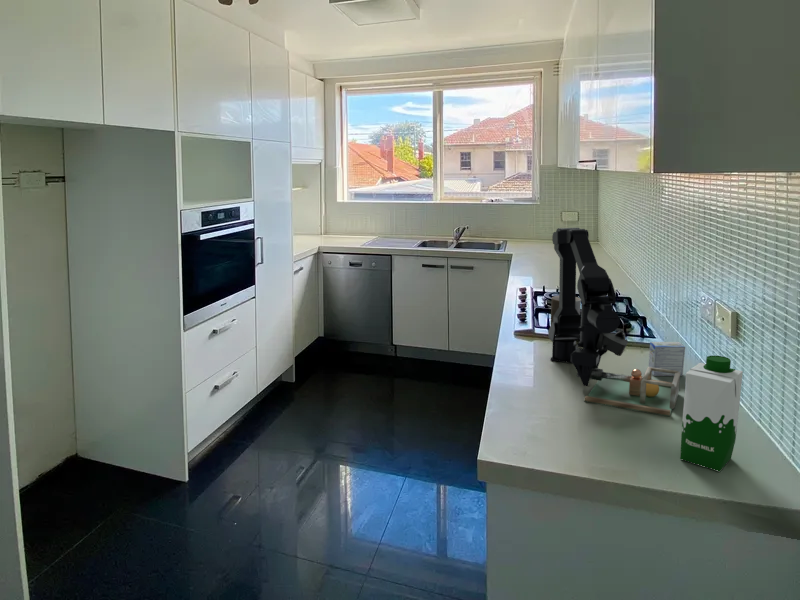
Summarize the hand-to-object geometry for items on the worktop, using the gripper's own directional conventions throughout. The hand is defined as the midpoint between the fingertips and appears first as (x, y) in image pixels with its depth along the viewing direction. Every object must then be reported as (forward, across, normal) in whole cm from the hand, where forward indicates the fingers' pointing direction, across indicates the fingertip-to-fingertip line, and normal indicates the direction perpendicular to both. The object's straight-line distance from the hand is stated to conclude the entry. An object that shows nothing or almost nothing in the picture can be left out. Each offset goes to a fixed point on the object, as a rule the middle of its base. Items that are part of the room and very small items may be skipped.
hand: (589, 380), depth 144 cm
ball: (0, 0, -15) cm, 15 cm away
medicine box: (+2, +20, -16) cm, 26 cm away
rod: (+2, 0, -5) cm, 5 cm away
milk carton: (+2, -28, -28) cm, 40 cm away
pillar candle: (+2, +44, +18) cm, 48 cm away
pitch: (+2, 0, -11) cm, 11 cm away
